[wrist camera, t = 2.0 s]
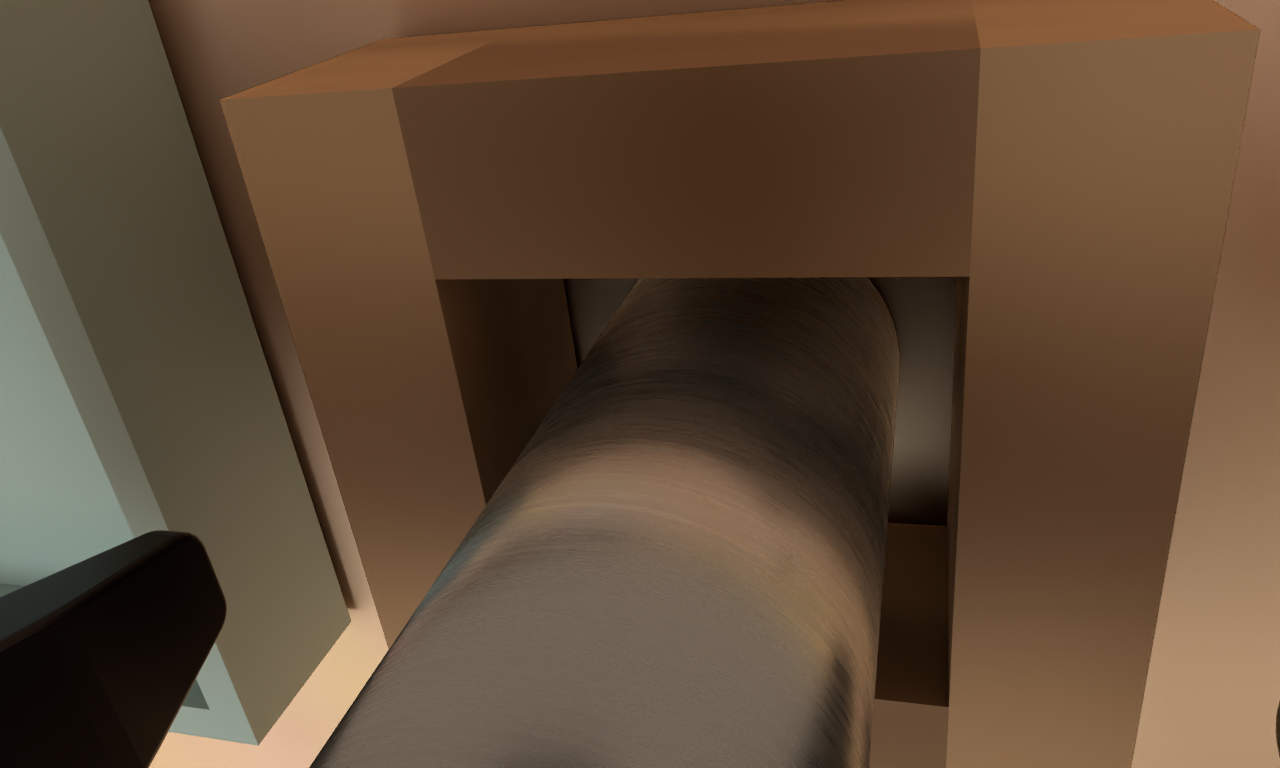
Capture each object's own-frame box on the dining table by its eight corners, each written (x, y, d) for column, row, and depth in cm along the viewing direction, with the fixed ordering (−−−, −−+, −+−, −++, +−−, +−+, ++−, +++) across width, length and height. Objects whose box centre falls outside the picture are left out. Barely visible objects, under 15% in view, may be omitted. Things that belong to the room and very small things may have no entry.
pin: (898, 482, 12) (844, 1297, 5) (636, 468, 13) (314, 1146, 6) (900, 221, 10) (832, 910, 4) (602, 227, 11) (125, 787, 5)
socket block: (1080, 642, 12) (1117, 847, 10) (508, 589, 15) (418, 745, 12) (1168, -27, 9) (1261, 29, 6) (384, 39, 11) (219, 100, 8)
